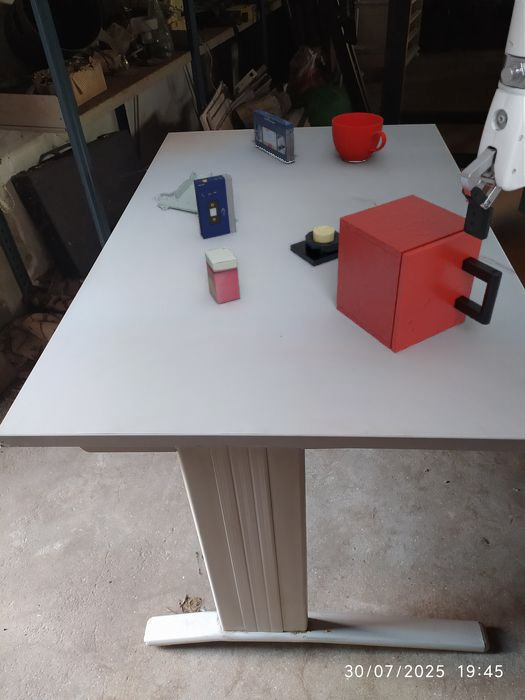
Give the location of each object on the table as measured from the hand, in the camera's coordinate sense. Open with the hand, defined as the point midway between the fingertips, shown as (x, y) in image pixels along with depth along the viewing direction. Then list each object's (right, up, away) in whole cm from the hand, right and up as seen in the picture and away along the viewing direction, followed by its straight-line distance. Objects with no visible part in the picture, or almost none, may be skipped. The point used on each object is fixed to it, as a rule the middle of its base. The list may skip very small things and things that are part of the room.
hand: (502, 224), depth 67 cm
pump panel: (-18, +4, +37) cm, 42 cm away
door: (-3, -15, +13) cm, 20 cm away
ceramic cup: (-4, +34, +76) cm, 83 cm away
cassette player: (-39, +9, +46) cm, 61 cm away
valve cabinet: (-8, -10, +20) cm, 23 cm away
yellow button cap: (-18, +6, +36) cm, 41 cm away
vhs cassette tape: (-26, +39, +83) cm, 95 cm away
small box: (-36, -6, +27) cm, 45 cm away
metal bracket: (-44, +19, +60) cm, 77 cm away
